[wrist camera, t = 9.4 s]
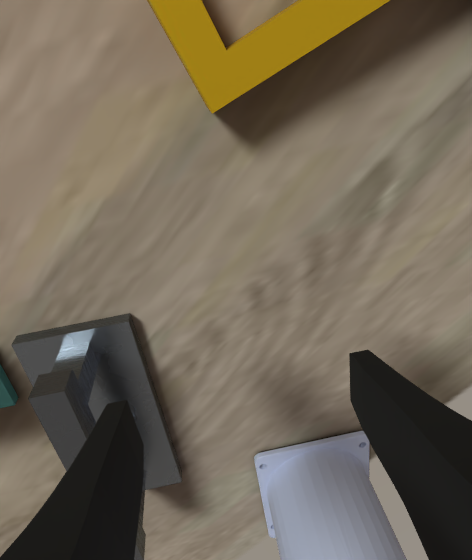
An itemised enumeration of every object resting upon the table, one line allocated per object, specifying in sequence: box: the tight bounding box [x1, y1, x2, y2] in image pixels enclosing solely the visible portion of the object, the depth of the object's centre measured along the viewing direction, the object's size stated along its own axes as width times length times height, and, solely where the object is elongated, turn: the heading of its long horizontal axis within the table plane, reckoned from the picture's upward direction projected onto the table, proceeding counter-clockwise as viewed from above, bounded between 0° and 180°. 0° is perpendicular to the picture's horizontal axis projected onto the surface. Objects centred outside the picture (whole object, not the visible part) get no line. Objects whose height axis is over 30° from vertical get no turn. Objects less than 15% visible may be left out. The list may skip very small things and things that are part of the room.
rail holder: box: [12, 314, 182, 560], centre depth 23 cm, size 13×6×5 cm, turn 9°
